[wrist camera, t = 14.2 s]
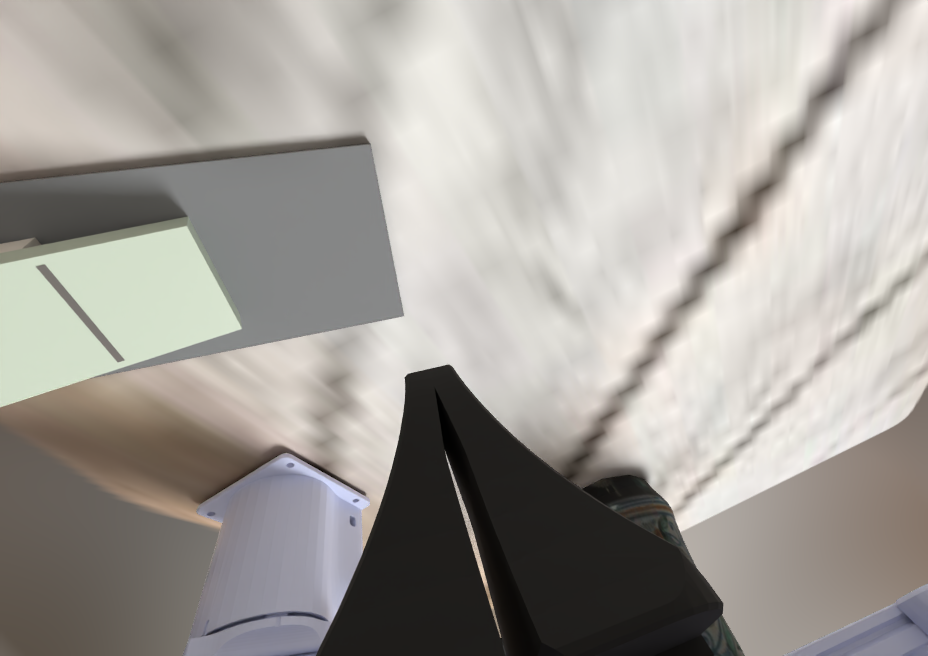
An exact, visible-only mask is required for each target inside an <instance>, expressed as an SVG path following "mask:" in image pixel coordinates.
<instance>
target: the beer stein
mask: <svg viewBox="0 0 928 656" xmlns="http://www.w3.org/2000/svg"><path fill="white" fill-rule="evenodd" d="M582 490H584V491H585V492H587V493H588V494H590V495H591V496H593V497H594V498H596V499H597V500H598V501H600V502H602V503H603V504H605V505H606V506H608V507H610V508H611V509H613V510H614V511H616V512H618V513H619V514H621V515H622V516H624V517H626V518H627V519H629V520H631V521H633V522H634V523H636V524H638V525H639V526H641V527H643V528H645V529H646V530H648V531H650V532H652V533H653V534H655V535H657V536H659V537H661V538H662V539H664V540H666V541H668V542H670V543H671V544H673V545H675V546H677V547H678V548H679V549H680V550H681V551H682V552H683V553H684V555H685V556H686V557H687V558H688V559H689V560H690V561H691V563H692V564H693V565H694V566H695V564H694V562H693V560H692V558H691V556H690V553H689V552H688V549H687V547H686V545H685V543H684V541H683V538H682V536H681V534H680V531H679V529H678V526H677V524H676V521H675V518H674V514H673V511H672V509H671V507H670V506H669V504H668V503H667V502H666V501H665V500H664V499H663V498H662V497H661V496H660V495H659V494H658V493H657V492H656V491H655V490H653V489H652V488H651V487H650V485H649V484H648V483H647V482H646V481H645V480H644V479H642V478H638V477H635V476H631V475H625V476H619V477H612V478H605V479H602V480H600V481H598V482H596V483H594V484H592V485H590V486H588V487H586V488H584V489H582ZM695 567H696V566H695ZM701 635H702V636H703V638H704V639H705V641H706V642H707V644H708V646H709V647H710V649H711V650H712V652H713V653H714V656H745V655H744V654H743V652H742V649H741V648H740V646H739V644H738V642H737V641H736V639H735V637H734V635H733V633H732V632H731V630H730V628H729V626H728V625H727V623H726V621H725V619H724V618H723V616H722V615H721V616H720V617H719V618H718V619H717V620H716V621H715V622H714V623H713V624H712V625H711V626H710V627H709V628H707V629H706V630H705V631H704V632H703V633H702V634H701Z"/></svg>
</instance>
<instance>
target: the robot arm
mask: <svg viewBox="0 0 928 656" xmlns="http://www.w3.org/2000/svg"><path fill="white" fill-rule="evenodd" d="M445 452H446V454H447V457H448V460H449V463H450V466H451V468H452V471H453V474H454V477H455V479H456V482H457V485H458V488H459V491H460V493H461V496H462V499H463V502H464V504H465V507H466V510H467V513H468V515H469V518H470V522H471V525H472V528H473V531H474V534H475V538H476V542H477V546H478V549H479V553H480V557H481V561H482V564H483V568H484V572H485V576H486V579H487V583H488V587H489V591H490V595H491V599H492V602H493V606H494V610H495V614H496V618H497V622H498V626H499V629H500V633H501V637H502V641H503V645H504V648H503V645H502V642H501V639H500V636H499V633H498V629H497V626H496V623H495V620H494V616H493V613H492V610H491V607H490V604H489V600H488V597H487V594H486V591H485V587H484V584H483V581H482V578H481V575H480V571H479V568H478V565H477V561H476V558H475V555H474V551H473V548H472V545H471V541H470V538H469V535H468V531H467V528H466V525H465V521H464V518H463V514H462V511H461V508H460V504H459V501H458V497H457V494H456V490H455V487H454V483H453V480H452V476H451V473H450V469H449V466H448V462H447V459H446V454H445ZM369 504H370V499H369V498H367V497H366V496H364V495H362V494H360V493H359V492H357V491H355V490H353V489H351V488H350V487H348V486H346V485H344V484H343V483H341V482H339V481H337V480H336V479H334V478H332V477H330V476H329V475H327V474H325V473H323V472H321V471H320V470H318V469H316V468H314V467H313V466H311V465H309V464H307V463H306V462H304V461H302V460H300V459H298V458H297V457H295V456H293V455H291V454H289V453H283V454H281V455H279V456H277V457H276V458H274V459H272V460H271V461H269V462H268V463H266V464H264V465H263V466H261V467H260V468H258V469H256V470H255V471H253V472H251V473H250V474H248V475H247V476H245V477H243V478H242V479H240V480H239V481H237V482H235V483H234V484H232V485H230V486H229V487H227V488H226V489H224V490H222V491H221V492H219V493H218V494H216V495H214V496H213V497H211V498H210V499H208V500H206V501H205V502H203V503H201V504H200V505H199V506H198V508H197V511H196V512H197V514H199V515H201V516H204V517H207V518H210V519H213V520H216V521H218V522H221V523H222V526H221V529H220V533H219V536H218V540H217V543H216V547H215V550H214V553H213V557H212V561H211V564H210V567H209V571H208V574H207V577H206V581H205V585H204V588H203V591H202V595H201V598H200V602H199V605H198V609H197V612H196V615H195V619H194V622H193V626H192V629H191V633H190V636H189V640H188V643H187V645H186V648H185V650H184V653H183V655H182V656H714V653H713V652H712V650H711V649H710V647H709V646H708V644H707V642H706V641H705V639H704V638H703V636H702V635H701V634H702V633H703V632H704V631H705V630H706V629H707V628H709V627H710V626H711V625H712V624H713V623H714V622H715V621H716V620H717V619H718V618H719V617H720V616H721V615H722V614H723V602H722V601H721V599H720V598H719V597H718V595H717V594H716V593H715V591H714V590H713V589H712V587H711V586H710V584H709V583H708V582H707V580H706V579H705V578H704V577H703V575H702V574H701V573H700V572H699V571H698V569H697V568H696V567H695V566H694V565H693V564H692V563H691V561H690V560H689V559H688V558H687V557H686V556H685V555H684V553H683V552H682V551H681V550H680V549H679V548H678V547H677V546H675V545H673V544H671V543H670V542H668V541H666V540H664V539H662V538H661V537H659V536H657V535H655V534H653V533H652V532H650V531H648V530H646V529H645V528H643V527H641V526H639V525H638V524H636V523H634V522H633V521H631V520H629V519H627V518H626V517H624V516H622V515H621V514H619V513H618V512H616V511H614V510H613V509H611V508H610V507H608V506H606V505H605V504H603V503H602V502H600V501H598V500H597V499H596V498H594V497H593V496H591V495H590V494H588V493H587V492H585V491H584V490H582V489H581V488H580V487H578V486H577V485H575V484H574V483H572V482H571V481H569V480H568V479H566V478H565V477H564V476H562V475H561V474H559V473H558V472H557V471H556V470H554V469H553V468H552V467H550V466H549V465H548V464H546V463H545V462H544V461H543V460H541V459H540V458H539V457H538V456H536V455H535V454H534V453H533V452H532V451H530V450H529V449H528V448H527V447H526V446H524V445H523V444H522V443H521V442H520V441H519V440H518V439H517V438H515V437H514V436H513V435H512V434H511V433H510V432H509V431H508V430H507V429H506V428H505V427H504V426H503V425H502V424H501V423H500V422H499V421H498V420H497V419H496V418H495V417H494V416H493V415H492V414H491V413H490V412H489V411H488V410H487V409H486V408H485V407H484V406H483V405H482V404H481V403H480V401H479V400H478V399H477V398H476V397H475V396H474V395H473V393H472V392H471V391H470V390H469V389H468V387H467V386H466V385H465V384H464V382H463V381H462V380H461V378H460V377H459V376H458V374H457V373H456V371H455V370H454V368H453V367H452V366H450V365H445V366H440V367H436V368H431V369H427V370H423V371H418V372H414V373H410V374H407V376H406V377H405V404H404V412H403V418H402V424H401V430H400V436H399V441H398V445H397V449H396V453H395V457H394V461H393V466H392V469H391V473H390V476H389V480H388V483H387V487H386V490H385V493H384V496H383V499H382V502H381V505H380V508H379V511H378V514H377V516H376V519H375V522H374V525H373V527H372V530H371V533H370V536H369V538H368V541H367V543H366V546H365V548H364V551H363V544H362V513H361V510H362V509H364V508H366V507H367V506H369ZM504 649H505V651H504ZM505 653H506V655H505ZM783 656H928V584H926V585H924V586H922V587H920V588H918V589H916V590H914V591H912V592H910V593H908V594H906V595H904V596H903V597H901V598H899V599H898V600H896V603H894V604H892V605H890V606H887V607H885V608H883V609H881V610H879V611H877V612H875V613H873V614H870V615H868V616H866V617H864V618H862V619H860V620H858V621H856V622H854V623H852V624H849V625H847V626H845V627H843V628H841V629H839V630H836V631H834V632H832V633H830V634H828V635H826V636H824V637H822V638H819V639H817V640H815V641H813V642H811V643H809V644H807V645H804V646H802V647H800V648H798V649H796V650H794V651H792V652H790V653H787V654H785V655H783Z"/></svg>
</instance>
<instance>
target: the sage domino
mask: <svg viewBox="0 0 928 656" xmlns="http://www.w3.org/2000/svg"><path fill="white" fill-rule="evenodd" d="M240 329H242V325H241V319H240V314H239V312H238V310H237V308H236V306H235V304H234V303H233V301H232V299H231V297H230V295H229V293H228V291H227V289H226V287H225V286H224V284H223V282H222V280H221V278H220V276H219V274H218V272H217V270H216V269H215V267H214V265H213V263H212V261H211V259H210V257H209V255H208V253H207V251H206V250H205V248H204V246H203V244H202V242H201V240H200V238H199V236H198V234H197V233H196V231H195V229H194V227H193V225H192V223H191V221H190V219H189V217H188V216H187V217H182V218H177V219H172V220H167V221H162V222H157V223H152V224H147V225H142V226H136V227H131V228H126V229H121V230H116V231H111V232H106V233H101V234H96V235H90V236H85V237H80V238H75V239H70V240H65V241H60V242H55V243H50V244H44V245H39V246H34V247H29V248H24V249H19V250H14V251H9V252H4V253H0V407H3V406H6V405H9V404H12V403H15V402H18V401H21V400H24V399H28V398H31V397H34V396H37V395H40V394H43V393H46V392H49V391H52V390H55V389H58V388H61V387H64V386H68V385H71V384H74V383H77V382H80V381H83V380H86V379H89V378H92V377H95V376H98V375H101V374H105V373H108V372H111V371H114V370H117V369H120V368H123V367H126V366H129V365H132V364H135V363H138V362H141V361H145V360H148V359H151V358H154V357H157V356H160V355H163V354H166V353H169V352H172V351H175V350H178V349H181V348H185V347H188V346H191V345H194V344H197V343H200V342H203V341H206V340H209V339H212V338H215V337H218V336H222V335H225V334H228V333H231V332H234V331H237V330H240Z"/></svg>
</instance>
